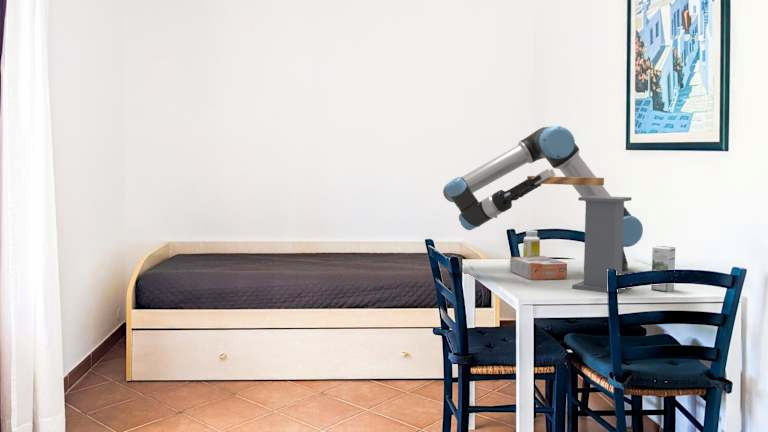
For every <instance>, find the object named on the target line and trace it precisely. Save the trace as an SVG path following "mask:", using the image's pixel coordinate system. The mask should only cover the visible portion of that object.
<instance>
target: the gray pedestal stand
mask: <svg viewBox="0 0 768 432" xmlns="http://www.w3.org/2000/svg"><path fill="white" fill-rule="evenodd" d="M578 201H581V202H585V201H586V202H585V215H584V217H585V218H584V219H585V220H584V222H585V223H584V252H583V253H584V255H583V257H584V258H583V259H584V260H583V280H581V281H579V282H577V283H574V284H572V285H571V289H572V290H573V289H575V290H583V291H593V292H603V293H608V292H607V269H608V268H616V271H617V275H619V274H622V275H623V270H622V253H623V220H624V207H625V202H629V201H632V197H631V196H630V197H628V196H611V197H609V196H586V197H581V196H580V197H578ZM628 290H631V288H625V289H618V293H617V294H622V293H624V292H627V291H628Z"/></svg>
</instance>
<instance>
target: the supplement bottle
mask: <svg viewBox="0 0 768 432" xmlns="http://www.w3.org/2000/svg"><path fill="white" fill-rule="evenodd" d="M525 234H526V236H524V237H523V248H522V249H523V250H522V251H523V252H522V253H523V255H522V257H532V256H541V254H540V253H541V252H540V251H541V250H540V249H541V248H540V247H541V245H540V243H541V239H540V237H538V230H533V229H532V230H531V229H530V230H525Z"/></svg>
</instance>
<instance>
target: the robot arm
mask: <svg viewBox="0 0 768 432" xmlns="http://www.w3.org/2000/svg"><path fill="white" fill-rule="evenodd" d="M542 159H546V161H547V162H548V163H549V164H550V165H551V167H552V168H551V169H549V168H546V169H545V170H542V171H541V172H540V173H537V174H536V175H533V176H534V177H533V178H532V179H529V180H527V179H525V180H524V181H522V182H520V183H518V184H516V185H514V186H513V187H512V188H510V189H507V190H502V189H500V190H498V191H496V192H494V193H493V194H491V195H489V196H487V197H486V198H484V199H482V200H481V201H479V200H478V198H476V196H475V195H474V193H475V192H477V191H479V190H481V189H482V188H484V187H486V186H488V185H490V184H491V183H493V182H495V181H497V180H498V179H501V178H502V177H504V176H506V175H507V174H509V173H512V172H513V171H515V170H516V169H519V168H520V167H522V166H524V165H527V164H533V163H535V162H536V161H539V160H542ZM554 169H556V170H560V171H561V173H562V174H563V176H564V177H595V178H597V176H596V175H595V174H594V173H593V171H592V170H591V168H589V166H588V165H587V163H586V162H585V161H584V159H583V158H582V157H581V156H580V148H579V146H578V145H577V144H576V143H575V137H574V135H573V133H572V132H571V131H570V129H568V128H566V127H564V126H562V125H551V126H545V127H544V126H543V127H541V128H539V129H537V130H535V131H534V132H532V133H530V135H528V136H526V137H524V138H523V139H521V140H520V141H518V143H517V145H516V146H514V147H512V148H511V149H509V150H507V151H506V152H503V153H502V154H500V155H498V156H496V157H495V158H493V159H491V160H489V161H487V162H486V163H484V164H482V165H480V166H479V167H477V168H475V169H474V170H472V171H469V172H468V173H467V174H464V175H463V176H457V177H455V178H453V179H452V180H450V181H449V182H447V183H446V184H445V185H444V187H443V190H442V193H443V198H445V199H446V200H447V201H448V202H450V203H453V204H454V205H455V206H456V207H457V209H458V211H460V213H459V215H458V220H459V223H460V225H461V226H462V228H463V229H464V230H467V231H472V230H474V229H476V228H478V227H479V228H480V226H482V225H483V224H486V223H487V222H489V221H491V220H492V219H497V218H498V216H500V215H501V214H502V213H505V212H506V211H508V210H510V209H512V207H513V203H512V202H513V201H514V202H515V201H517V200H519V199H520V198H523V197H525V195H527V194H529V193H531V192H532V191H534V190H535V189H538V188H539V187H541V186H542V184H538V183H540V182H542V181H543V180H545V179H547V178H549V177H550V176H551V177H557V175H556V173H555V171H554ZM534 183H535V184H534ZM572 187H573V188H574V189H575V190H576V192H577V193H578V194H579V196H580V197H586V196H609V197H612V195H611V194H610V193H609V192H608V191H607V189H606V188H605V186H604V185H601V186H600V185H572ZM584 202H585V203H586V201H584ZM643 233H644V227H643V224H642V222H641V221H640V219H638V218H637V217H636V216H634V215H632V214H631V213H630V211H628V209H627V208H626V207H625V206H624V220H623V253H622V271H627V270H628V269H629V267H628V265H629V264H628V263H629V262H628V261H627V256H626V254H625V249H624V248H630V247H633V246H635V245H636V244H638V243H639V241H640V240H641V239H642V236H643Z"/></svg>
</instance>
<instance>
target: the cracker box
mask: <svg viewBox="0 0 768 432" xmlns="http://www.w3.org/2000/svg"><path fill="white" fill-rule="evenodd" d="M509 260H510V261H509V264H510V266H509V269H510V270H509V272H511V273H513V274H516V275H518V276H521V277H524V278H525V279H528V280H530V281H533V280H558V279H559V280H560V279H567V278H568V275H567V274H568V263H567V262H564V261H560V260H557V259H555V258H551V257H548V256H544V255H540V256H532V257H523V256H511V257H510V259H509Z"/></svg>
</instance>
